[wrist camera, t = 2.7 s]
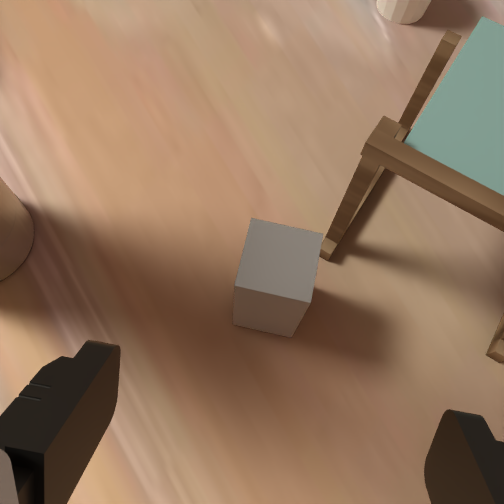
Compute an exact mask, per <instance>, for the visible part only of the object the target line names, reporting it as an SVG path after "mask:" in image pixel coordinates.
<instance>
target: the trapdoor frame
mask: <svg viewBox="0 0 504 504" xmlns="http://www.w3.org/2000/svg"><path fill="white" fill-rule="evenodd" d="M461 37H462V36H460V35H458V34H456V33H454V32H451V31H449V30H447V32H446V33H445V35H444V36H443V38H442V39H441V41H440V43H439V45H438V47H437V49H436V51H435V53H434V55H433V57H432V59H431V61H430V63H429V65H428V66H427V68H426V70H425V72H424V74H423V76H422V78H421V80H420V82H419V84H418V86H417V88H416V90H415V92H414V94H413V95H412V97H411V99H410V101H409V103H408V105H407V107H406V109H405V111H404V113H403V115H402V117H401V119H400V121H399V122H398V123H397V122H395V121H393V120H391V119H389V118H388V117H386V116H383V117H382V119H381V120H380V122H379V123H378V125H377V126H376V128H375V129H374V131H373V132H372V134H371V135H370V137H369V138H368V140H367V141H366V143H365V145H364V147H363V149H362V152H361V155H362V158H361V160H360V162H359V165H358V167H357V169H356V171H355V173H354V176H353V178H352V180H351V182H350V184H349V187H348V189H347V191H346V193H345V195H344V197H343V200H342V202H341V204H340V206H339V208H338V211H337V213H336V215H335V217H334V219H333V222H332V224H331V226H330V228H329V230H328V233H327V235H326V237H325V239H324V240H323V242H322V244H321V249H320V255H319V256H320V257H321V258H323V259H325V260H326V261H328V259H329V258H330V256H331V255H332V253H333V251H334V250H335V248H336V247H337V245H338V243H339V242H340V240H341V239H342V237H343V235H344V234H345V232H346V231H347V229H348V227H349V226H350V224H351V223H352V221H353V219H354V218H355V216H356V215H357V213H358V211H359V210H360V208H361V206H362V205H363V203H364V202H365V200H366V198H367V197H368V195H369V194H370V192H371V190H372V189H373V187H374V186H375V184H376V182H377V181H378V179H379V178H380V176H381V174H382V173H383V171H384V170H385V168H386V169H388V170H390V171H392V172H394V173H396V174H398V175H399V176H401V177H403V178H405V179H407V180H409V181H411V182H412V183H414V184H416V185H418V186H420V187H422V188H423V189H425V190H427V191H429V192H431V193H433V194H435V195H436V196H438V197H440V198H442V199H444V200H446V201H448V202H449V203H451V204H453V205H455V206H457V207H459V208H461V209H462V210H464V211H466V212H468V213H470V214H472V215H474V216H475V217H477V218H479V219H481V220H483V221H485V222H486V223H488V224H490V225H492V226H494V227H496V228H498V229H499V230H501V231H503V232H504V196H503V195H501V194H500V193H498V192H496V191H494V190H492V189H490V188H488V187H486V186H484V185H482V184H481V183H479V182H477V181H475V180H473V179H471V178H469V177H467V176H465V175H463V174H461V173H460V172H458V171H456V170H454V169H452V168H450V167H448V166H446V165H444V164H442V163H441V162H439V161H437V160H435V159H433V158H431V157H429V156H427V155H425V154H423V153H422V152H420V151H418V150H416V149H414V148H412V147H410V146H408V145H406V144H404V143H403V142H402V141H403V139H404V137H405V136H406V134H407V133H408V131H409V129H410V127H411V126H412V124H413V122H414V120H415V119H416V117H417V115H418V113H419V111H420V110H421V108H422V106H423V104H424V103H425V101H426V99H427V97H428V95H429V94H430V92H431V90H432V88H433V87H434V85H435V83H436V81H437V79H438V78H439V76H440V74H441V72H442V71H443V69H444V67H445V65H446V63H447V62H448V60H449V58H450V56H451V55H452V53H453V51H454V49H455V47H456V46H457V44H458V42H459V40H460V39H461ZM486 355H487V356H489V357H490V358H492V359H494V360H495V361H497V362H499V363H500V362H503V361H504V314H503V316H502V319H501V321H500V323H499V326H498V328H497V330H496V333H495V335H494V337H493V340H492V342H491V344H490V346H489V349H488V351H487V353H486Z"/></svg>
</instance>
